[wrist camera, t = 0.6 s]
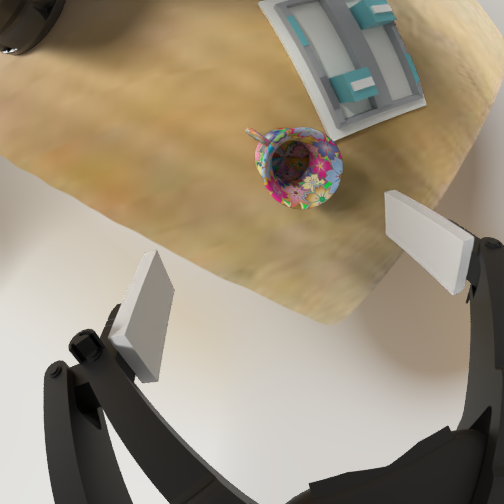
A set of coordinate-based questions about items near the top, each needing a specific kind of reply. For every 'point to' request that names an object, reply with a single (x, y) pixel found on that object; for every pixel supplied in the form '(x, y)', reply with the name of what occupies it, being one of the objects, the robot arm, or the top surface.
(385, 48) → the switch board
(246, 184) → the top surface
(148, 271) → the robot arm
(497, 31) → the top surface
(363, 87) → the tab
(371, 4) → the tab
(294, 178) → the mug
